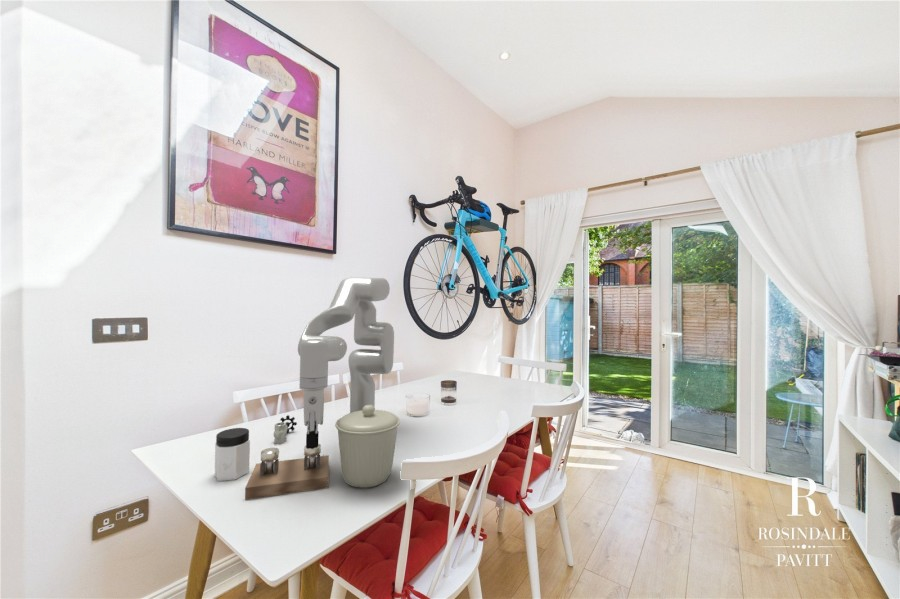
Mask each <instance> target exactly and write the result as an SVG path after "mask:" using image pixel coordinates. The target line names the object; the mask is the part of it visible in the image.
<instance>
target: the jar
mask: <svg viewBox="0 0 900 599" xmlns="http://www.w3.org/2000/svg"><path fill="white" fill-rule="evenodd" d="M215 439H216V441H215V444H214V445H215V446H214V448H215V450H214V451H215V452H214V454H215V455H214V476H215V478H216V480H217V481H218V482H224V481H234V480H235V481H236V480H238V479H239V478H241V477H243V476H245V475H247V474H248V473H249V472H250V459H251V458H250V454H251V453H250V452H251V450H250V449H251V448H250V447H251V446H250V445H251V441H250V431H249V429H248V428H245V427H235V428H229V429H225V430H222V431H220V432H218V433H217V434H216V436H215Z"/></svg>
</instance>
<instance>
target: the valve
mask: <svg viewBox="0 0 900 599" xmlns="http://www.w3.org/2000/svg"><path fill="white" fill-rule="evenodd" d="M295 419H296V417H294V416H292V417H291V416H290V415H288V414H287V415H286V416H285V417H280V419H279V422H276V423H275V424H274V431H273V438H274V439H273V440H274V441H273V444H275V445H282V444H285V443H286V441H287V440H286V439H287V435H288V433H290V430H291V432H293V431H295V429H296V428H295V427H294V426H297V425H298V422H295ZM280 421H281V422H280Z"/></svg>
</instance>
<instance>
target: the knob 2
mask: <svg viewBox="0 0 900 599" xmlns="http://www.w3.org/2000/svg"><path fill="white" fill-rule="evenodd" d="M321 445H322V444H321V443H318V447H315V448H306V445H304V448H303V449H304V450H303V451H304V453H303V455H304V457H305V456H307V457H308V458H309V462H308V468H309V469H314V468H316V457H317V455H319V454H320V455H321V452H322V451H321V450H322V448H321V447H322V446H321Z"/></svg>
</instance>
